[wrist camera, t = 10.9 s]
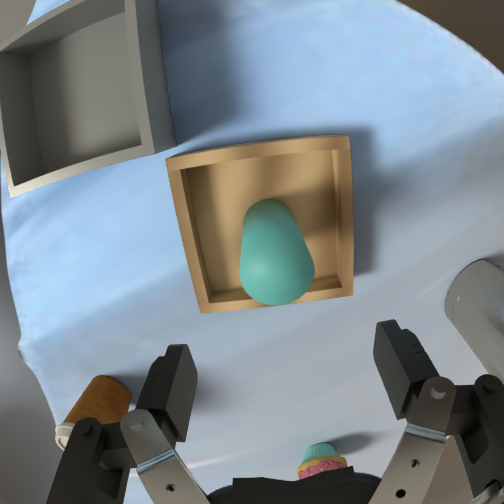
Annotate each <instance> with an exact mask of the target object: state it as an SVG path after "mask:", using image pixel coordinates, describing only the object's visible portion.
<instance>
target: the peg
mask: <svg viewBox="0 0 504 504" xmlns="http://www.w3.org/2000/svg"><path fill="white" fill-rule="evenodd" d="M239 275H240V281H241V284H242V286H243V288H244V290H245V291H246V292H247V294H248V295H249V296H251V297H252V298H253V299H255V300H256V301H258V302H261V303H263V304H267V305H284V304H288V303H291V302H293V301H295V300H297V299H299V298H300V297H301V296H303V295H304V294H305V293H306V292H307V290H308V289H309V288H310V286H311V284H312V282H313V279H314V275H315V266H314V262H313V259H312V256H311V254H310V252H309V249H308V247H307V245H306V242H305V240H304V238H303V236H302V233H301V231H300V229H299V227H298V224H297V222H296V220H295V218H294V215H293V213H292V211H291V210H290V208H289V207H288V206H287V205H286V204H284V203H283V202H281V201H278V200H274V199H265V200H261V201H258V202H256V203H255V204H253V205H252V206H251V207H250V208H249V209H248V210H247V212H246V214H245V216H244V220H243V232H242V245H241V258H240V272H239Z"/></svg>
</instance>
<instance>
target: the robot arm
mask: <svg viewBox="0 0 504 504" xmlns="http://www.w3.org/2000/svg"><path fill="white" fill-rule="evenodd" d="M445 312H446V315H447V317H448V318H449V320H450V321H451V322H452V323H453V325H454V326H455V327H456V329H457V330H458V331H459V333H460V334H461V335H462V337H463V338H464V340H465V341H466V342H467V344H468V345H469V346H470V348H471V349H472V350H473V352H474V353H475V355H476V356H477V357H478V359H479V360H480V362H481V363H482V364H483V366H484V367H485V369H486V370H487V372H488V373H489V374H485V375H482V376H480V377H478V379H477V380H476V381H475V383H474V385H454V384H453V382H452V381H451V380H449V379H448V378H445V377H441V376H440V375H439V374H438V372H437V370H436V368H435V367H434V365H433V363H432V362H431V360H430V358H429V356H428V355H427V353H426V352H425V350H424V348H423V346H422V345H421V343H420V341H419V340H418V338H417V337H416V335H415V334H414V333H412V332H411V331H409V330H408V329H403V330H401V328H400V327H399V325H398V323H397V322H396V320H394V319H393V320H388V321H382V322H378V323H377V325H376V333H375V341H374V348H373V355H374V361H375V364H376V366H377V369H378V371H379V374H380V376H381V379H382V381H383V384H384V386H385V389H386V391H387V394H388V397H389V399H390V402H391V405H392V407H393V410H394V413H395V415H396V418H397V420H399V419H403V418H406V420H407V422H408V424H407V426H406V428H405V431H404V433H403V435H402V438H401V440H400V442H399V444H398V446H397V449H396V451H395V453H394V455H393V457H392V459H391V461H390V463H389V465H388V467H387V469H386V471H385V472H384V474H383V476H382V478H379V477H377V476H374V475H371V474H366V473H358V472H354V469H353V466H350V467H344V468H339V469H333V470H327V471H323V472H320V473H317V474H314V475H312V476H309V477H306V478H303V479H300V480H297V481H284V480H277V479H270V478H264V477H257V478H233V485H229V486H226V487H223V488H220V489H218V490H216V491H214V492H212V493H210V494H209V495H207V494H206V492H205V491H204V490H203V489H202V487H201V486H200V485H199V483H198V482H197V481H196V479H195V478H194V477H193V475H192V474H191V472H190V471H189V470H188V468H187V467H186V465H185V464H184V462H183V461H182V459H181V458H180V456H179V455H178V453H177V452H176V450H175V445H176V442H185V440H186V435H187V430H188V425H189V420H190V415H191V410H192V405H193V400H194V395H195V390H196V385H197V370H196V367H195V364H194V361H193V358H192V356H191V353H190V350H189V347H188V345H187V344H174V345H169V346H168V348H167V351H166V354H165V356H159V357H158V358H157V359H156V360H155V361H154V363H153V364H152V365H151V367H150V370H149V373H148V375H147V378H146V383H144V386H143V389H142V391H141V394H140V397H139V400H138V402H137V405H136V408H135V410H132V411H129V412H128V413H126V414H125V415H124V416H123V417H122V419H121V421H120V422H115V423H109V424H103V425H102V424H101V423H100V422H99V421H98V420H97V419H96V418H93V417H86V418H83V419H81V420H79V421H78V422H77V423H76V424H75V425H74V427H73V429H72V432H71V434H70V437H69V439H68V442H67V444H66V447H65V450H64V453H63V455H62V458H61V461H60V464H59V466H58V469H57V472H56V475H55V478H54V481H53V484H52V487H51V490H50V493H49V496H48V500H47V503H46V504H123V501H124V496H125V491H126V486H127V481H128V477H129V472H130V468H136V471H137V473H138V475H139V477H140V479H141V481H142V483H143V485H144V487H145V489H146V490H147V492H148V494H149V496H150V497H151V499H152V501H153V503H154V504H421V503H422V501H423V499H424V497H425V494H426V492H427V490H428V487H429V485H430V483H431V480H432V478H433V475H434V473H435V470H436V468H437V465H438V462H439V459H440V457H441V454H442V450H443V448H444V445H445V441H446V436H448V435H454V437H455V440H456V443H457V445H458V448H459V451H460V454H461V457H462V460H463V463H464V466H465V469H466V472H467V476H468V479H469V482H470V485H471V489H472V492H473V495H474V499H473V500H472V502H471V503H470V504H504V269H503V268H501V267H500V266H499V267H496V266H495V265H494V264H493V263H491V262H490V261H488V260H480V261H476V262H474V263H472V264H470V265H469V266H468V267H466V268H465V269H464V270H463V271H462V272H461V273H460V274H459V275H458V277H457V278H456V279H455V281H454V282H453V284H452V285H451V287H450V290H449V292H448V294H447V298H446V302H445Z"/></svg>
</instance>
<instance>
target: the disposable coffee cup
mask: <svg viewBox="0 0 504 504" xmlns="http://www.w3.org/2000/svg"><path fill="white" fill-rule="evenodd" d="M130 399H131V395H130V393H129V391H128V389H127V388H126V387H125V386H124V385H122V384H121V383H120V382H118V381H117V380H115V379H112V378H110V377H106V376H96V377H94V378H93V380H92V381H91V383H90V384H89V385H88V387H87V388H86V390H85V391H84V392H83V394H82V395H81V397H80V398H79V400H78V401H77V402H76V404H75V405H74V407H73V408H72V410H71V411H70V413H69V414H68V416H67V417H66V419H65V420H64V421H63V423H61V424H60V425H58V426H57V427H56V429H55V432H56V438H55V439H56V443H57V444H58V445H59V447H60V448H61V449H62V450H65V447H66V444H67V442H68V439H69V437H70V434H71V432H72V429H73V427H74V425H75V424H76V423H77V422H78V421H79V420H81V419H83V418H86V417H93V418H96V419H97V420H98V421H99V422H100V423H101V424H102V425H103V424H109V423H115V422H120V421H121V419H122V417H123V416H124V415H125V414H126V413H128V409H129V403H130Z"/></svg>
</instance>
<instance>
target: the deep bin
mask: <svg viewBox="0 0 504 504" xmlns="http://www.w3.org/2000/svg"><path fill="white" fill-rule="evenodd" d="M176 146H177V145H176V139H175V133H174V127H173V121H172V115H171V109H170V102H169V96H168V89H167V82H166V75H165V67H164V60H163V52H162V43H161V35H160V26H159V16H158V6H157V0H70V1H68V2H66V3H64V4H62V5H60V6H59V7H57V8H55V9H53V10H51V11H50V12H48V13H46V14H45V15H43V16H41V17H40V18H38V19H36V20H35V21H33V22H32V23H30V24H28V25H27V26H25V27H24V28H22V29H21V30H19V31H18V32H16V33H15V34H14V35H12V36H11V37H10V38H8V39H7V40H5V41H4V42H3V43H1V44H0V149H1V155H2V160H3V166H4V171H5V175H6V180H7V184H8V188H9V193H10V196H11V197H14V196H16V195H19V194H22V193H24V192H27V191H30V190H32V189H35V188H38V187H41V186H44V185H46V184H49V183H52V182H55V181H58V180H61V179H64V178H68V177H71V176H74V175H77V174H80V173H84V172H87V171H91V170H94V169H97V168H101V167H105V166H108V165H112V164H116V163H120V162H124V161H127V160H132V159H136V158H140V157H144V156H148V155H153V154H156V153H159V152H162V151H165V150H168V149H171V148H173V147H176Z"/></svg>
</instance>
